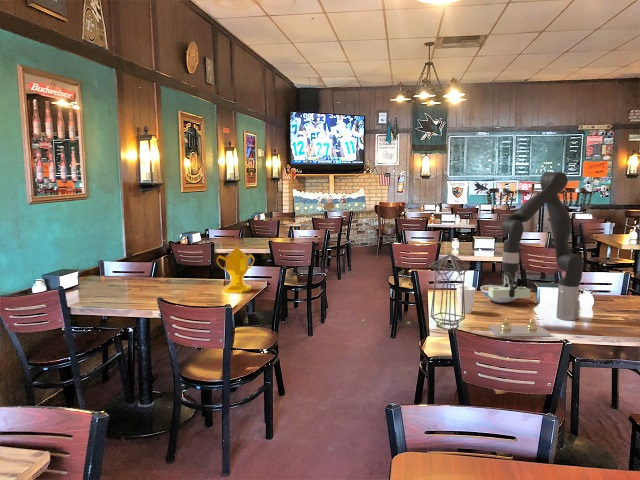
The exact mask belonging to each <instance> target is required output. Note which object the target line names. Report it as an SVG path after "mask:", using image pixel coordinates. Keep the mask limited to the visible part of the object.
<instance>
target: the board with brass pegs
mask: <svg viewBox="0 0 640 480" xmlns="http://www.w3.org/2000/svg"><path fill="white" fill-rule="evenodd" d="M487 329H488V330H489V331H490V332H492V333H493V334H494V335H495V336H496V337H498V338H499V337H504V338H505V337H507V338H508V337H509V338H511V337H516V338H517V337H524V338H525V337H531V338H532V337H551V332H550V331H548V330H546V329H545V328H544V327H542V326H541V325H540V324H535V319H534V318H530V319H529V323H526V324H524V325H523V324H519V325H518V324H509V319H508V318H504V320H503V323H501V324H498V325H497V324H495V325H493V324H492V325H491V324H488V325H487Z"/></svg>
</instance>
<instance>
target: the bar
mask: <svg viewBox="0 0 640 480" xmlns="http://www.w3.org/2000/svg"><path fill="white" fill-rule="evenodd" d="M509 292H510V288H509V287H489V289H488V295H489V296H490V297H492V298H517V299H530V298H531V289H530V288H528V287H526V286H517V289H515V294H514V297H509Z"/></svg>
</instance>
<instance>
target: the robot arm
mask: <svg viewBox="0 0 640 480" xmlns="http://www.w3.org/2000/svg"><path fill="white" fill-rule="evenodd" d="M568 179H569V178H568V176H567V175H566V173H564V172H561V171H547V172H545V173H543V174H542V175H541V177H540V183H539V184H540V187H541V191H540V192H538V193H537V194H534V195H533V196H532V197H530V198H528V199H527V200H526V201H525V202H523V204H522V205H521V206H520V207H519V208H518V209H517V210H516V211H514V212H513V213H512V214H510V215H509V216H507V217H506V218H505V219H504V220H503V221H502V223H501V225H500V227H501V228H500V229H501V231H502V232H503V233H504V234H506V235H509V238H507V239H505V240H504V241H503V247H502V249H503V250H502V256H501V257H502V258H501V259H502V262H501V271H502V272H501V284H502V285H504V287H509V288H510V292H509V297H514V294H515V289H517V287H519V285H518V284H519V277H518V276H516V273H517V272H519V268H520V252H519V251H520V243H521V241H522V237H523V233H524V225H523V223H527V222H528V221H530V219H532V218H533V216H535V214H536V213H537V212H538V211H539V210H540V209H542V207H543V206H544V205H546V207H547V208H546V209H547V212H548V218H549V223H550V224H549V225H550V228H551V232H552V236H553V237H552V238H553V244H554V250H555V251H554V252H555V260H556V265H557V267H558V268H559V269H560V270H562V271H565V275H564V277H563V276H562V277H560V278H559V279H558V290H557V303H556V318H557V319H560V320H563V321H577V320H576V319H580V318H579V317H580V303H581V302H580V300H579V291H580V283H581V281H582V276H583V269H584V259H583V257H582V256H581V255H579V254H577V253H576V254H575V253H572V252H571V250H570V246H569V245H570V244H569V239H570V236H571V234H572V230H573V223H572V219H571V215H570V213H569V211H568V209H567V207H565V205H564V203H562V201H561V199H560V196H559V193H560V192H562V191H563V190H564V189H565V188H566V187H567V185H568V182H569V180H568Z"/></svg>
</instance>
